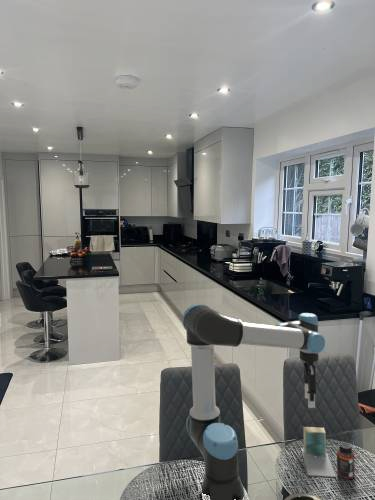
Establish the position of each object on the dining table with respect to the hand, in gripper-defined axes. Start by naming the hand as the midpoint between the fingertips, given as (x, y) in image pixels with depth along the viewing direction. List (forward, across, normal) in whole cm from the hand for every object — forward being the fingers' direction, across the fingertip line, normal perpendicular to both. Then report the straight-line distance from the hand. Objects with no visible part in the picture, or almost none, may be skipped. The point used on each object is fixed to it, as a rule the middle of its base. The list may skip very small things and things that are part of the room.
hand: (309, 402), depth 154 cm
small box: (+17, -9, 0) cm, 19 cm away
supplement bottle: (+17, -20, -9) cm, 28 cm away
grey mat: (+17, -14, 0) cm, 22 cm away
